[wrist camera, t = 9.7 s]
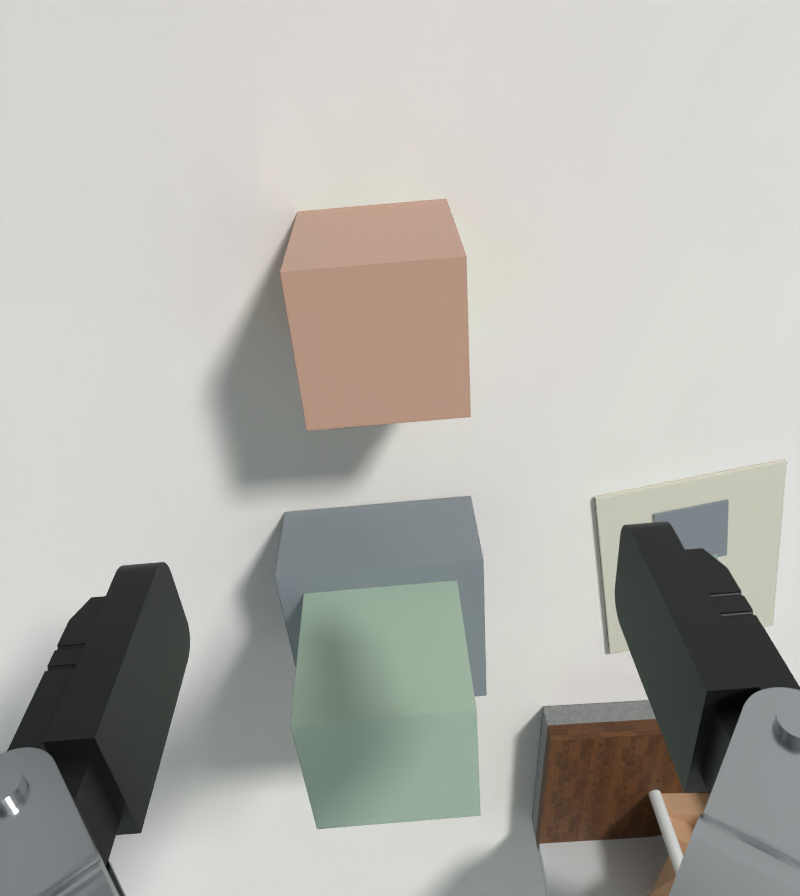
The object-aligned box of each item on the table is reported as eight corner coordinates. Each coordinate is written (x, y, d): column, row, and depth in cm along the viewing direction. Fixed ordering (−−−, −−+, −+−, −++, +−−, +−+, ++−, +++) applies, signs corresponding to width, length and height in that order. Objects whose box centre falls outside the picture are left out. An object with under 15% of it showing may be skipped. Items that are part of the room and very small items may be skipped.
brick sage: (303, 593, 29) (290, 726, 24) (457, 580, 29) (476, 710, 23) (324, 693, 32) (316, 829, 27) (462, 682, 32) (480, 815, 27)
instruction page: (594, 496, 32) (596, 500, 31) (784, 459, 31) (787, 463, 31) (609, 650, 37) (611, 655, 37) (771, 622, 36) (773, 626, 36)
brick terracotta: (297, 211, 25) (279, 271, 20) (446, 198, 25) (466, 256, 20) (318, 346, 27) (306, 430, 22) (451, 335, 27) (470, 417, 22)
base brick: (284, 512, 31) (274, 576, 28) (470, 496, 31) (483, 558, 28) (311, 641, 36) (305, 710, 32) (474, 627, 36) (486, 695, 32)
